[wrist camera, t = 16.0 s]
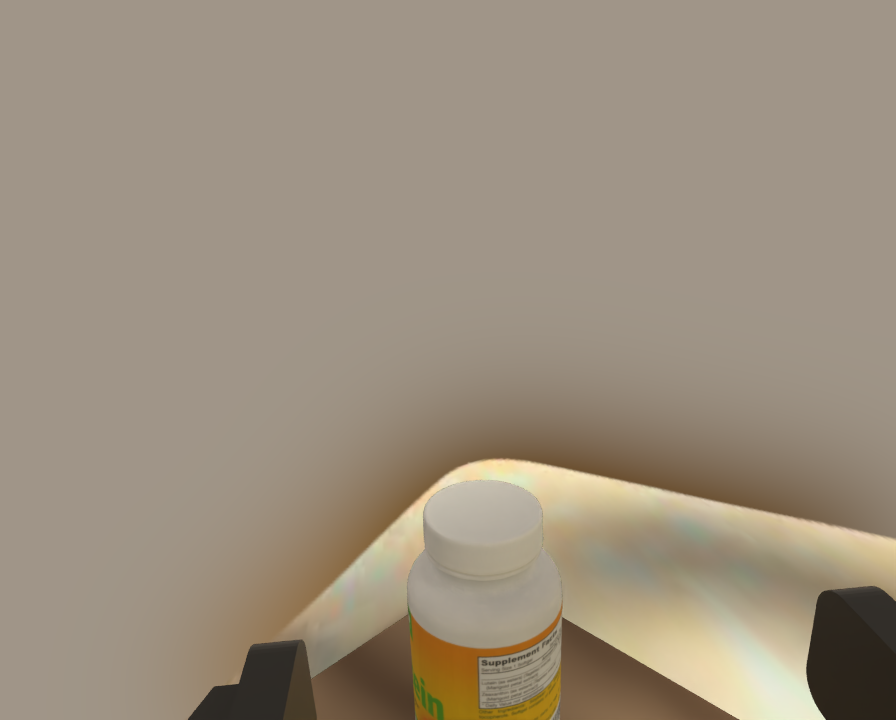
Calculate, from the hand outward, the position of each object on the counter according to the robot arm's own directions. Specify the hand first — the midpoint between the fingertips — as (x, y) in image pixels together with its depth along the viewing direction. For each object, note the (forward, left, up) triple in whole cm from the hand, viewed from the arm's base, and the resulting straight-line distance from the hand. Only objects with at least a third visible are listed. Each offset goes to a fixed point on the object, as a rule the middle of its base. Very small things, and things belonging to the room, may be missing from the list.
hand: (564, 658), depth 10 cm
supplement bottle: (-7, -8, -14) cm, 17 cm away
